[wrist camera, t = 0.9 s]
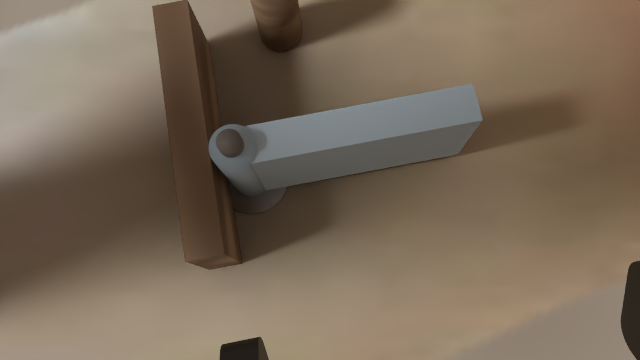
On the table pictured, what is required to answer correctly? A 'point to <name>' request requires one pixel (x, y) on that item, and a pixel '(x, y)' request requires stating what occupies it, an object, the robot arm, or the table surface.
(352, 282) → the table surface
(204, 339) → the table surface
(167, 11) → the frame rail
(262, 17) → the stop post
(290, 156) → the grey pivot lever
